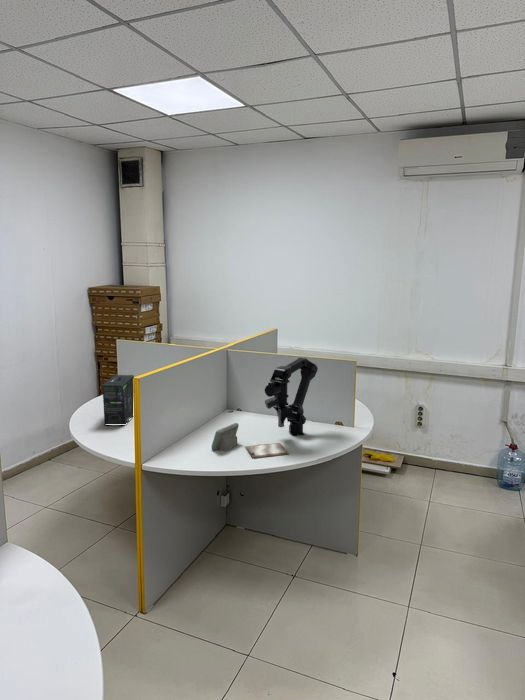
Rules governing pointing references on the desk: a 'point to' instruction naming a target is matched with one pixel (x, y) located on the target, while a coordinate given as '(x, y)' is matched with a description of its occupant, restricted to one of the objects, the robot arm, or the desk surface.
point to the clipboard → (266, 450)
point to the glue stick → (280, 421)
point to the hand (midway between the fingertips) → (281, 422)
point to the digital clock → (225, 437)
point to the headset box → (118, 399)
